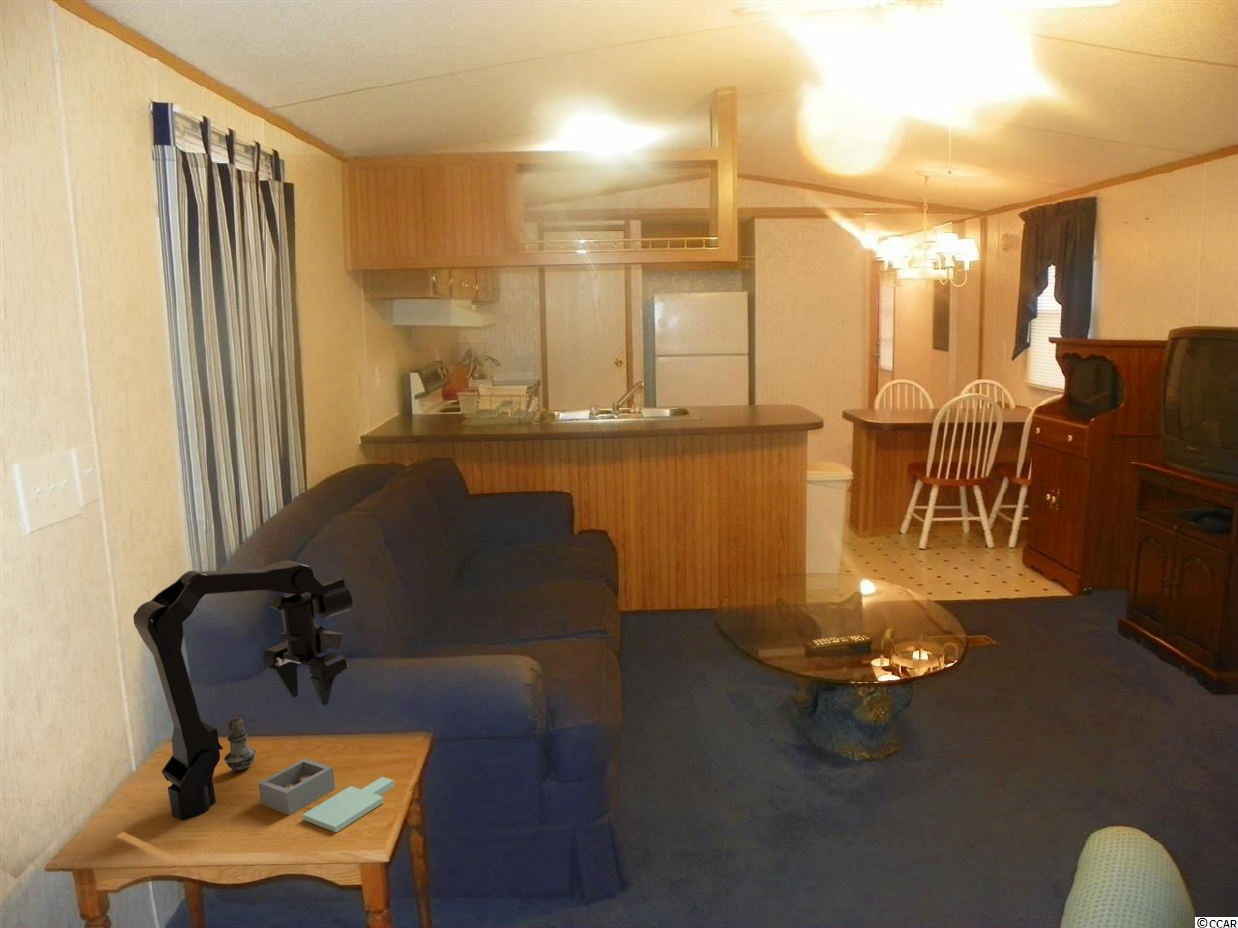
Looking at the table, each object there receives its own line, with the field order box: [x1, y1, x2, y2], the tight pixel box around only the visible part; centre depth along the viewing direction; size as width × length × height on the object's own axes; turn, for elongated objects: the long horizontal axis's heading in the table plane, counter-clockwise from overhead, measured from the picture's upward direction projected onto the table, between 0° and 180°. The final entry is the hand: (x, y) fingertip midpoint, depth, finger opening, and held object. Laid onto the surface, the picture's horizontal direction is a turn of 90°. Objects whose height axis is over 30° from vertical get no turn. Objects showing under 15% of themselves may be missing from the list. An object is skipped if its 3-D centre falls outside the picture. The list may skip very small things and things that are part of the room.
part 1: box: [282, 784, 294, 789], centre depth 164 cm, size 2×2×3 cm
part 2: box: [299, 774, 312, 782], centre depth 167 cm, size 2×2×3 cm
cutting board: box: [302, 776, 395, 833], centre depth 162 cm, size 16×9×2 cm, turn 147°
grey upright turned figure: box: [223, 714, 257, 776], centre depth 178 cm, size 6×6×12 cm
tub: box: [258, 758, 336, 816], centre depth 166 cm, size 10×8×5 cm
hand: (310, 700), depth 179 cm, fingers open, 9 cm apart
